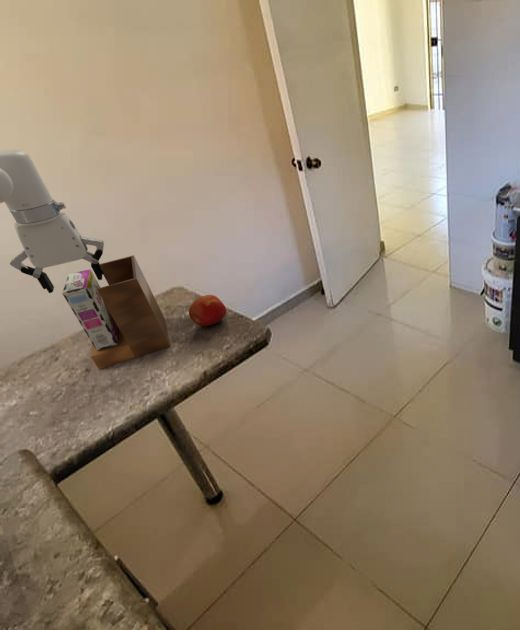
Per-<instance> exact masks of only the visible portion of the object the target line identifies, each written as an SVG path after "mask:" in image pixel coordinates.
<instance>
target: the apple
mask: <svg viewBox="0 0 520 630" xmlns="http://www.w3.org/2000/svg"><path fill="white" fill-rule="evenodd" d="M226 314H227V308H226V305H225V304H224V303H223V301H222V300H221V299H220V298H218V297H217V296H216V295H214V294H205V295H203V296H199V297H198V298H196V299H195V300H194V301H193V302H192V303H191V304H190V306H189V308H188V315H189V318H190V319H191V321H193V323H195V324H196V325H198V326H201V327H209V326H213V325H215V324H218V323H219V322H221V321H222V320H223V319H224V317H225V316H226Z"/></svg>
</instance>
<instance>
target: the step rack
mask: <svg viewBox="0 0 520 630" xmlns="http://www.w3.org/2000/svg"><path fill="white" fill-rule="evenodd" d="M100 265H101V267H102V269H103V271H104V274H103V275H102V276H103V277H104V279H105V281H106V283H107V285H105V286H101V287H100V288H97V291H98V292H99V294H100V296H101V298H102V299H103V301H104V303H105V305H106V306H107V308H108V310H109V312H110V313H111V315H112V317H113V319H114V320H115V322H116V324H117V326H118V327H119V336H118V345H115V346H112V347H108V348H105V349H101V350H98V351H96V349H95V347H94V345H93V344H92V343H91V351H90V353H91V354H90V357H91V359H92V360H93V362H94V363H95V365H96V367H97V368H98V370H103V369H105V368H108V367H110V366H113V365H116V364H119V363H122V362H125V361H128V360H132V359H134V358H136V359H137V358H140V357H144V356H146V355H149V354H152V353H155V352H158V351H161V350H164V349H167V348H169V347H170V348H171V341H170V337H169V332H168V328H167V322H166V318H165V316H164V313H163V312H162V310H161V307H160V306H159V304H158V302H157V300H156V298H155V295H154V293H153V291H152V289H151V287H150V286H149V283H148V282H147V279H146V277H145V275H144V273H143V271H142V268H141V267H140V265H139V263H138V260H137V259H136V256H135V255H129V256H125V257H122V258H118V259H114V260H110V261H106V262H102V263H100Z"/></svg>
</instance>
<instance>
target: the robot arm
mask: <svg viewBox="0 0 520 630" xmlns="http://www.w3.org/2000/svg"><path fill="white" fill-rule="evenodd" d="M3 203H4V204H5V205H6V207H7V209H8V210H9V213H10V214H11V216H12V217H13V218H14V221H15V223H14V229H15V232H16V234H17V237H18V239H19V242H20V245H21V246H22V248H23V250H22V251H21V252H20V253H18V254H17V255H16V256H15V257H14V258H12V259H11V260H10V262H9V265H10V266H11V267H12V268H15V269H16V270H18V271H20V272H21V274H25V275H28V276H30V277H32V278H34V279H37V281H38V283H39V284H40V286H41V288H42V289H43V290H47V292H48V293H49V294H51V293H53V292H54V290H55V286H54V284H53V282H52V281H51V279H50V278H49V276H48V274H47V272H45V271H43V270H44V269H46V268H50V267H55V266H59V265H63V264H68V263H72V262H75V261H80V260H84V261H87V262H88V263H90V267H91V270H92V272H93V274H94V276H96V277H95V278H97V281H102V280H103V276H104V275H103V274H104V271H103V269H102V267H101V265H100V264H101V263H100V259H101V257H102V256H103V254H104V246H105V242H104V240H103V239H98V238H90V237H85V236H82V235H81V233H80V232H79V230H78V228H77V227H76V225H75V224H74V222H73V221H72V219H71V218H70V217H69V216H68V214H67V213H66V212H64V211H63V212H61V211H62V210H64V209H67V207H66V204H65V202H64V201H62V202H58V201H55V199H53V197H52V195H51V193H50V191H49V189H48V188H47V186H46V183H45V182H44V180H43V178H42V176H41V174H40V172H39V171H38V169H37V167H36V165H35V163H34V162H33V160H32V157H31V156H30V155H29V153H27V152H26V151H24V150H21V149H3V150H0V204H3ZM88 246H94V247H96V250H95V251H94V253H92V252H90V251H88V249H89V248H88ZM27 259H28V260H29V261H30V263H31V264H32V265H33V267H31V266H30V265H29V266H28V265H25V264H24V263H23V262H24V261H25V260H27Z"/></svg>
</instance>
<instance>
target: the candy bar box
mask: <svg viewBox="0 0 520 630" xmlns="http://www.w3.org/2000/svg"><path fill="white" fill-rule="evenodd" d="M97 288H101V287H100V284H99V282H98V279H96V277H95V274H94V272H93V270H92V268H91V269H84V270H81V271H76V272H73V273H69V274H68V275H67V278H66V281H65V284H64V286H63V290H62V293H61V295H62V296H63V297H64V299H65V301H66V302H67V304H68V306H69V308H70V309H71V311H72V312H73V314H74V316H75V318H76V319H77V321H78V322H79V324H80V326H81V327H82V329H83V331H84V332H85V334H86V336H87V337H88V339H89V341H90V342H91V345H92V344H93V345H94V347H95V349H96V351H98V350H101V349H105V348H108V347H112V346H115V345H118V336H119V327H118V326H117V324H116V322H115V320H114V319H113V317H112V315H111V313H110V312H109V310H108V308H107V306H106V305H105V303H104V301H103V299H102V298H101V296H100V294H99V292H98V291H97Z"/></svg>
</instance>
